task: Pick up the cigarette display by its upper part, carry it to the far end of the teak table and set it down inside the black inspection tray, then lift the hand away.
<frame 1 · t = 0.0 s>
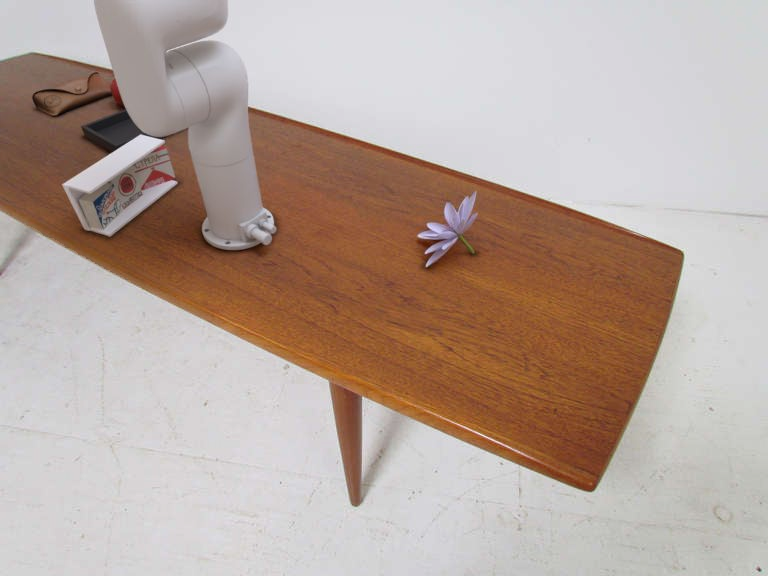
sunglasses case: (80, 100, 125), on the table
inspection tray: (149, 127, 116), on the table
water lily: (444, 248, 88), on the table
cigarette display: (136, 204, 95), on the table
pomegranate: (137, 103, 124), on the table
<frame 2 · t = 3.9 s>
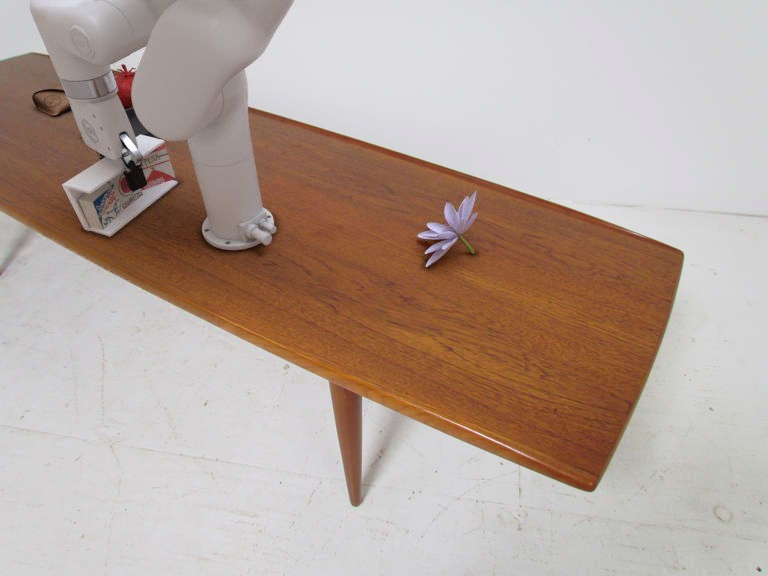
hand: (127, 180, 91), 5 cm above the table, tool pointing down, fingers closed on cigarette display, 6 cm apart
cigarette display: (136, 204, 95), on the table, touching gripper
everything else where it was.
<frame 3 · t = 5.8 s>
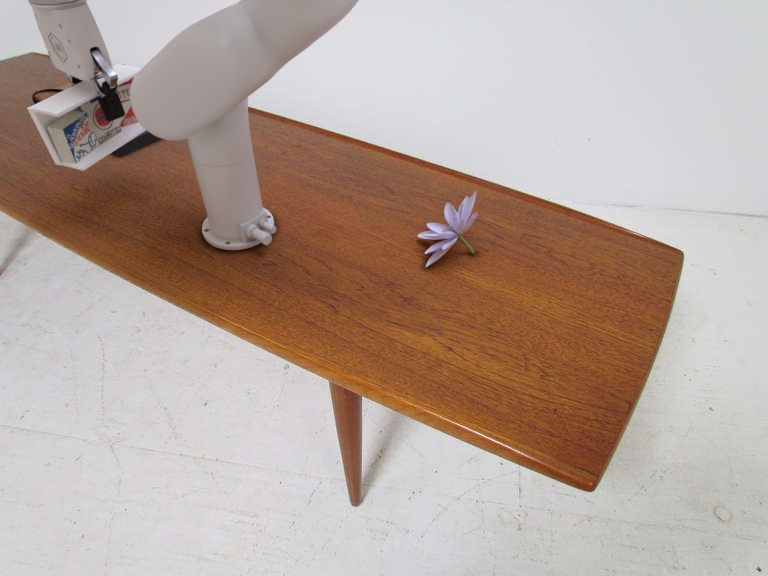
hand: (103, 111, 82), 18 cm above the table, tool pointing down, fingers closed on cigarette display, 6 cm apart
cigarette display: (114, 140, 86), point 13 cm above the table, touching gripper
everything else where it was.
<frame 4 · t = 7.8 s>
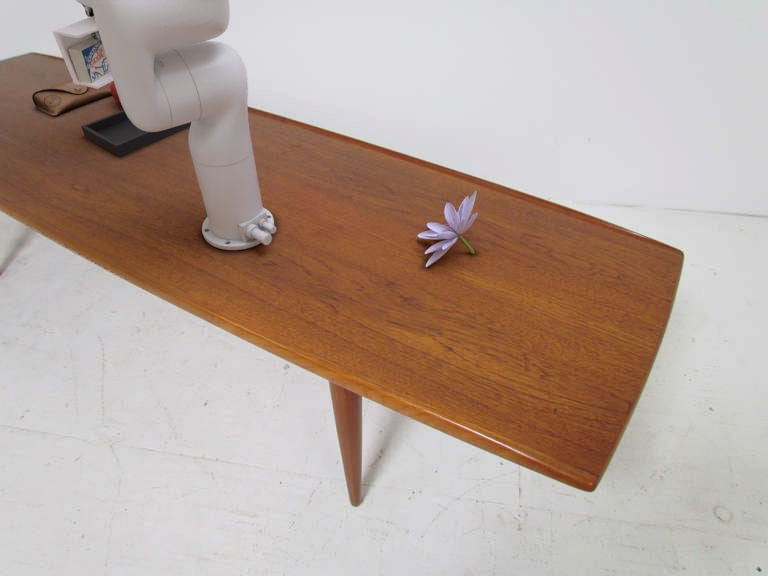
hand: (114, 41, 97), 21 cm above the table, tool pointing down, fingers closed on cigarette display, 6 cm apart
cigarette display: (123, 68, 101), point 15 cm above the table, touching gripper
everything else where it was.
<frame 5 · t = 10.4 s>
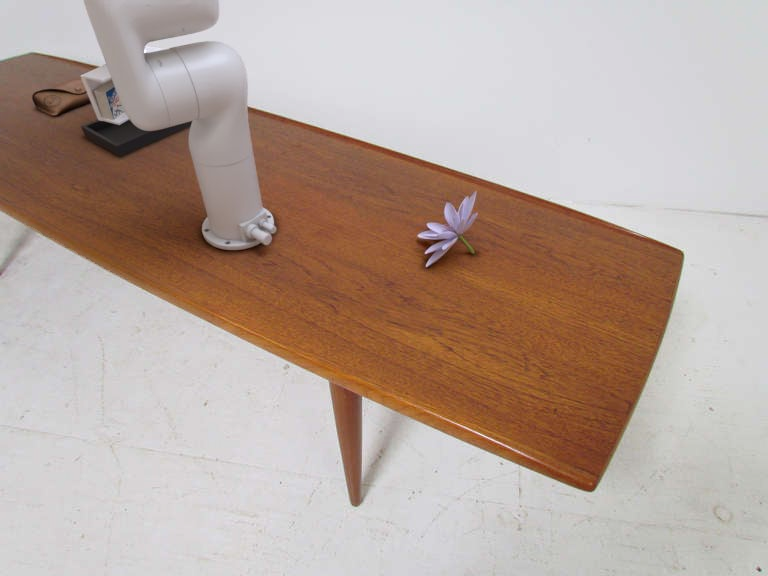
hand: (134, 81, 108), 11 cm above the table, tool pointing down, fingers closed on cigarette display, 6 cm apart
cigarette display: (141, 104, 112), point 5 cm above the table, touching gripper
everything else where it was.
when the fingers open (6 cm above the table, at t = 12.1 s): cigarette display stays where it is, resting on inspection tray.
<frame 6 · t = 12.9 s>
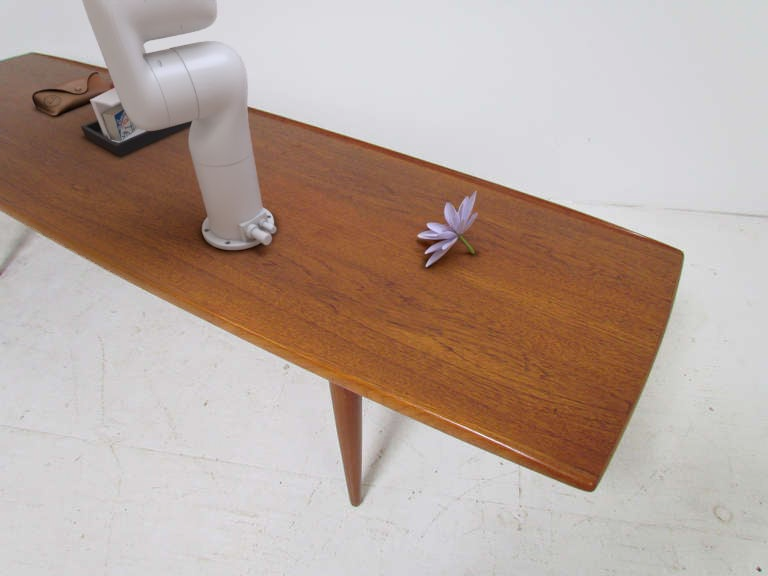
hand: (139, 96, 111), 7 cm above the table, tool pointing down, fingers open, 9 cm apart
cigarette display: (148, 125, 115), resting on inspection tray
everything else where it was.
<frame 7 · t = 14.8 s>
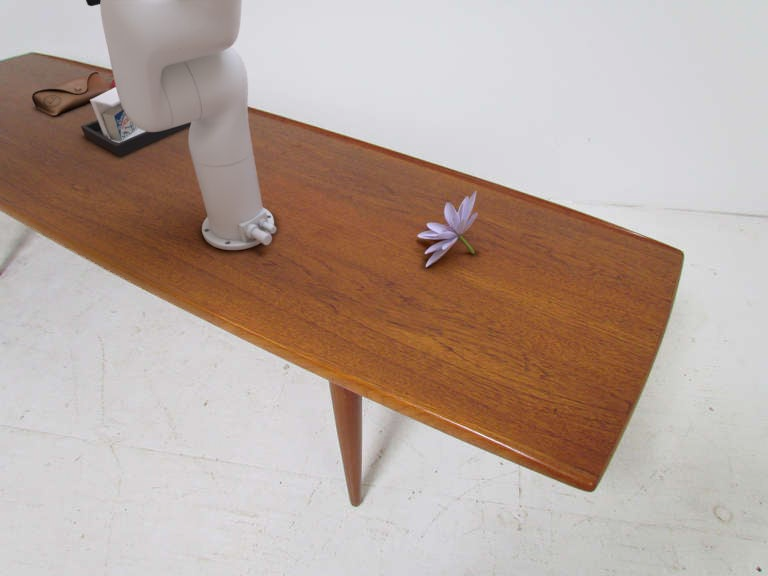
hand: (112, 9, 89), 28 cm above the table, tool pointing down, fingers open, 9 cm apart
nothing on the table moved.
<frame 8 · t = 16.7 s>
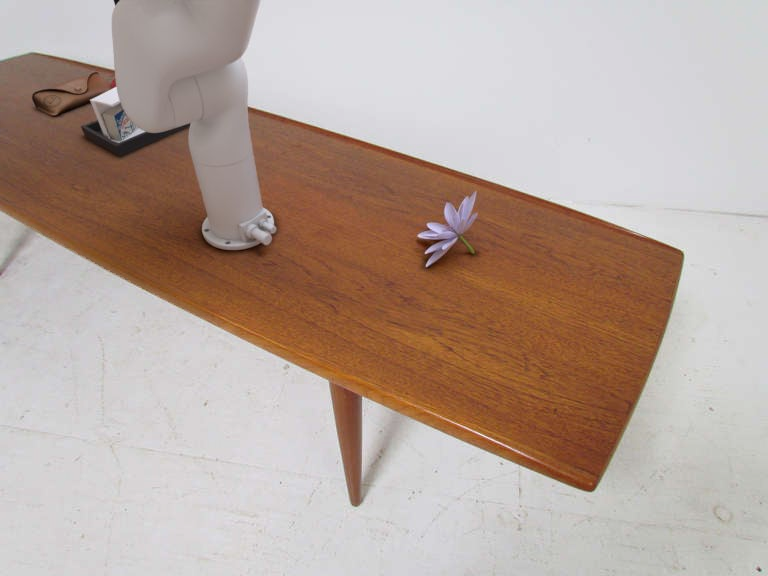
hand: (109, 2, 84), 30 cm above the table, tool pointing down, fingers open, 9 cm apart
nothing on the table moved.
at the end: cigarette display 0.1 cm off-centre in the inspection tray, point 0.4 cm above the inspection tray's base; cigarette display tilted 0°; the gripper is holding nothing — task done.
